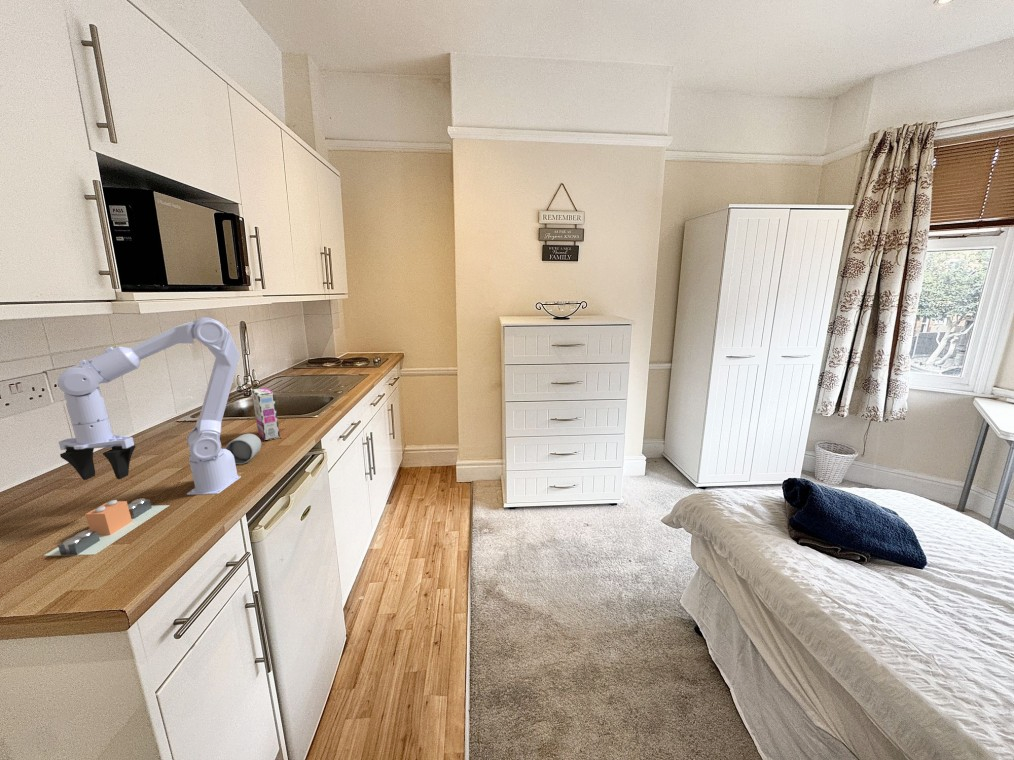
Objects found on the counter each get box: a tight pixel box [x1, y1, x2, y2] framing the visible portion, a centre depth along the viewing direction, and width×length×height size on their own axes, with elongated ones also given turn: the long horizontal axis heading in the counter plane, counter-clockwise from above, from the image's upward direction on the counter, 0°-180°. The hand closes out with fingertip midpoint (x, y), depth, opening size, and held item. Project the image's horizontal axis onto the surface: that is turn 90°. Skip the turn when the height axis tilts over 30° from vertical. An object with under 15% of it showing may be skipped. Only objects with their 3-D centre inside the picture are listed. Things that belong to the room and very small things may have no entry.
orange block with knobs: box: [85, 499, 132, 535], centre depth 86 cm, size 5×4×6 cm
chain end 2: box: [127, 497, 153, 519], centre depth 92 cm, size 5×3×2 cm
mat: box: [43, 504, 170, 557], centre depth 87 cm, size 18×10×1 cm, turn 0°
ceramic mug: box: [224, 433, 262, 465], centre depth 121 cm, size 11×8×8 cm
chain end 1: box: [57, 529, 100, 556], centre depth 80 cm, size 5×3×2 cm
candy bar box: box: [251, 387, 281, 441], centre depth 140 cm, size 11×5×16 cm, turn 42°
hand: (106, 477), depth 91 cm, fingers open, 7 cm apart
